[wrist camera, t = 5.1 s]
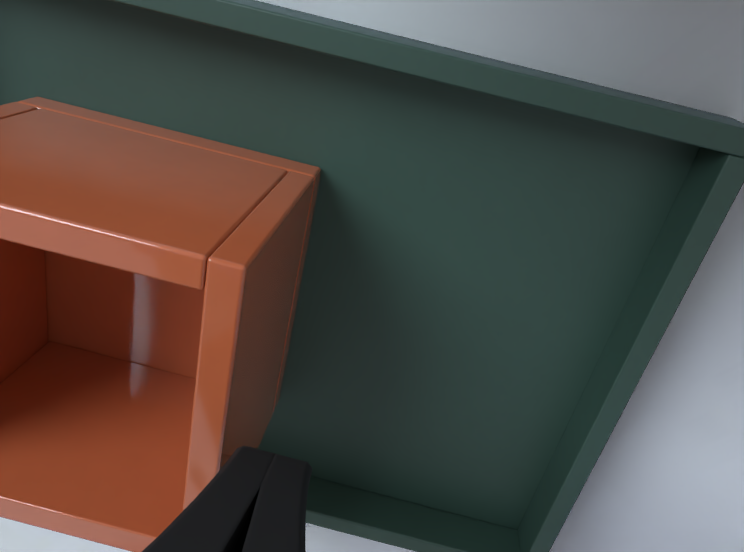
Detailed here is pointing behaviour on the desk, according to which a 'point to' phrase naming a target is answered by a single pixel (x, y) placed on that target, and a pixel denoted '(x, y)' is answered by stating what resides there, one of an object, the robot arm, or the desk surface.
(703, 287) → the desk surface
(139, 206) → the planter
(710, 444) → the desk surface
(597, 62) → the desk surface
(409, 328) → the tray
